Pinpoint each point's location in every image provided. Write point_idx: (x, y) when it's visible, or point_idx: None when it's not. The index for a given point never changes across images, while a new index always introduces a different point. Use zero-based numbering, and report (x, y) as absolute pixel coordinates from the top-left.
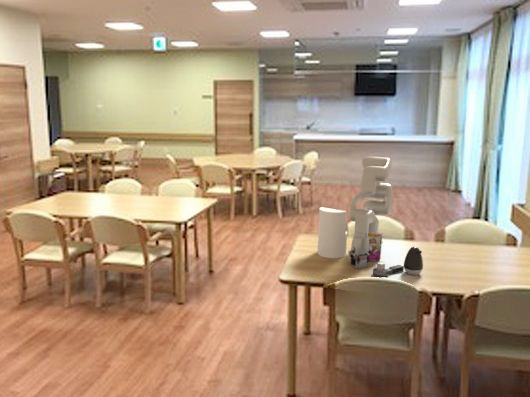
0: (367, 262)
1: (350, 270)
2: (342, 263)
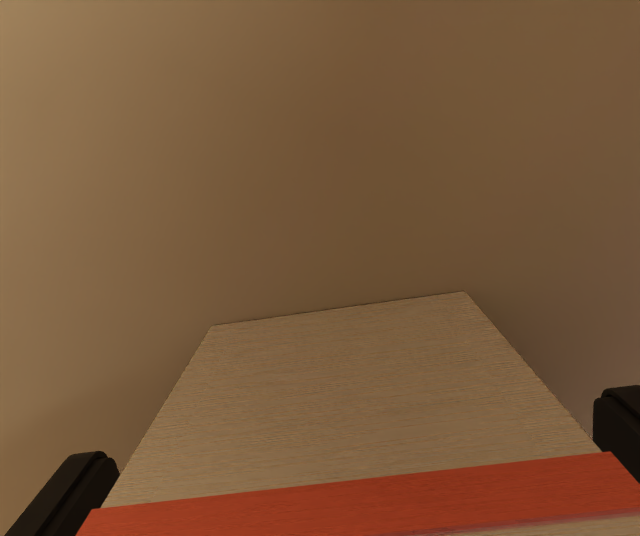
0: None
1: None
2: (46, 25)
